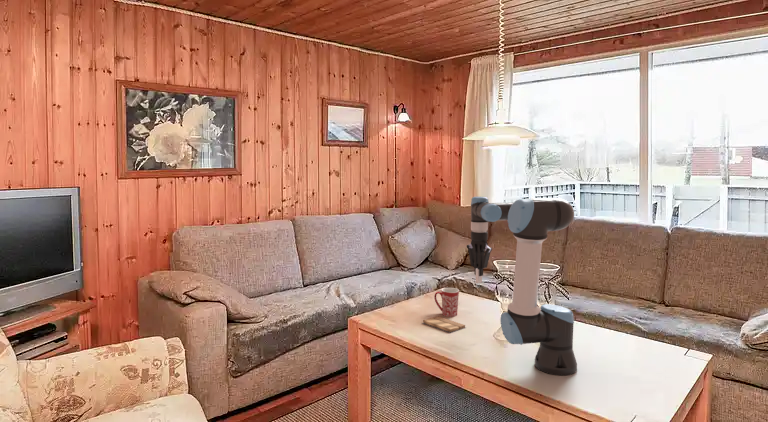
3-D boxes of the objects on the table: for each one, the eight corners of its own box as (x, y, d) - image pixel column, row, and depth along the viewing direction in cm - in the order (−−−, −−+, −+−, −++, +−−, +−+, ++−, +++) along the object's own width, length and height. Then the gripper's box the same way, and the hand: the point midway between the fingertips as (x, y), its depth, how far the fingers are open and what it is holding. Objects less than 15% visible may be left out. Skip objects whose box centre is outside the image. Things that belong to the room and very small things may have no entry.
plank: (459, 329, 227) (459, 326, 227) (450, 331, 223) (450, 329, 223) (432, 320, 240) (432, 318, 240) (423, 322, 236) (423, 320, 236)
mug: (461, 314, 251) (461, 288, 250) (455, 320, 243) (455, 293, 242) (437, 311, 257) (438, 286, 256) (431, 316, 249) (431, 290, 247)
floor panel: (466, 329, 229) (466, 325, 229) (450, 335, 222) (450, 330, 222) (437, 320, 243) (437, 315, 243) (421, 325, 236) (421, 320, 236)
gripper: (496, 231, 221) (495, 283, 224) (473, 228, 231) (472, 278, 234) (485, 233, 216) (484, 286, 219) (462, 230, 226) (462, 281, 229)
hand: (478, 282), depth 226 cm, fingers closed
